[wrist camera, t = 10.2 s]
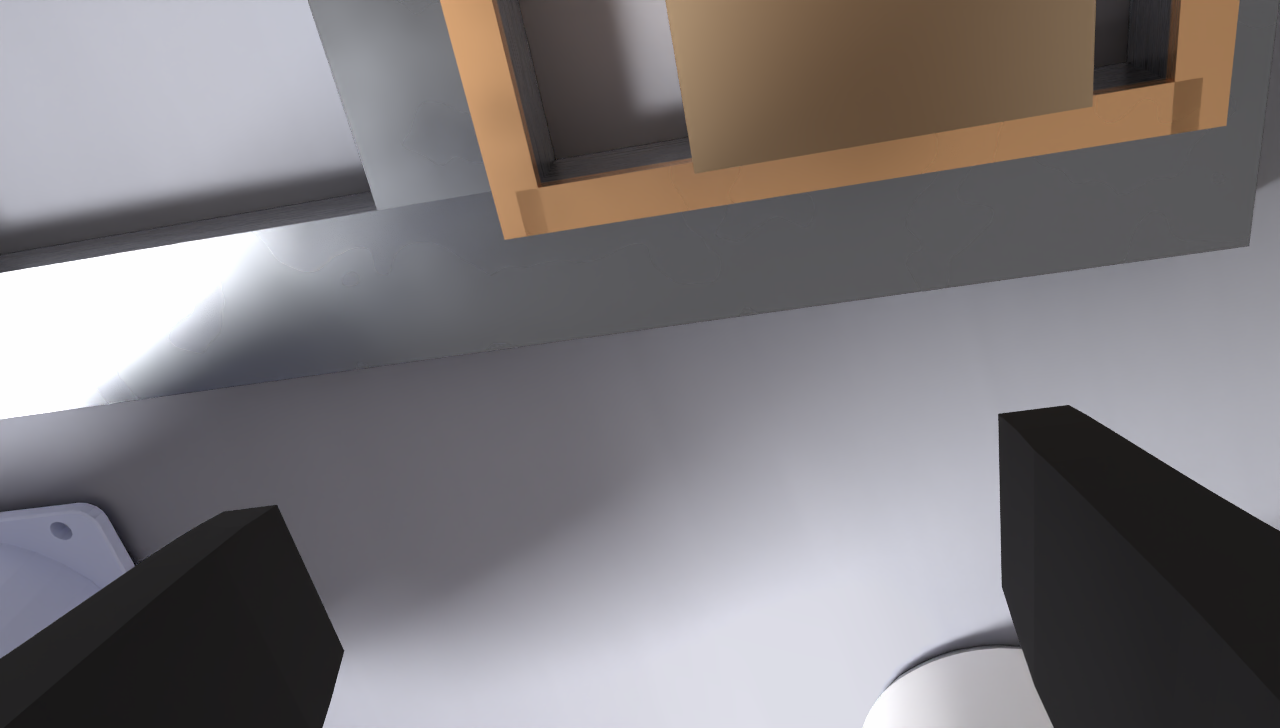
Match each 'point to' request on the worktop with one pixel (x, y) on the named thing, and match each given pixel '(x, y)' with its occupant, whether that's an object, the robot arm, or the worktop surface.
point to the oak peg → (870, 70)
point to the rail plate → (625, 215)
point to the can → (963, 693)
